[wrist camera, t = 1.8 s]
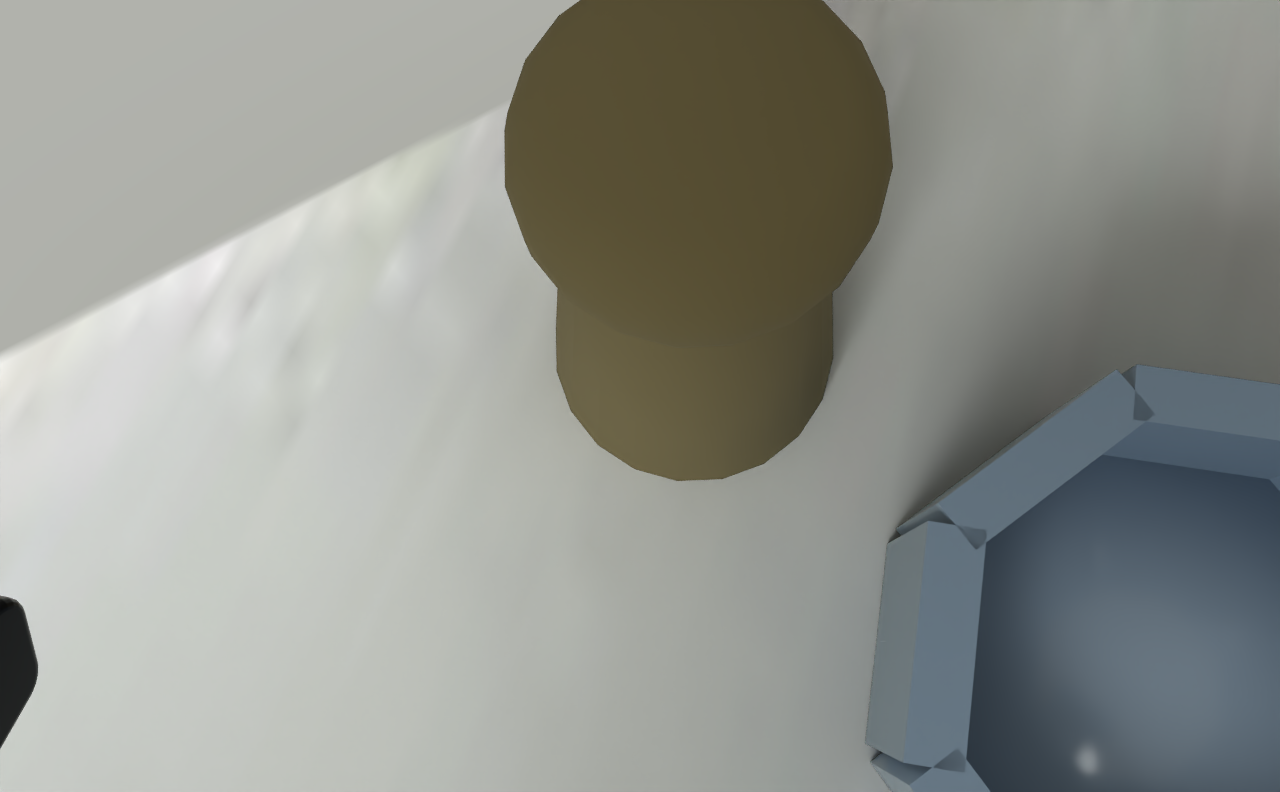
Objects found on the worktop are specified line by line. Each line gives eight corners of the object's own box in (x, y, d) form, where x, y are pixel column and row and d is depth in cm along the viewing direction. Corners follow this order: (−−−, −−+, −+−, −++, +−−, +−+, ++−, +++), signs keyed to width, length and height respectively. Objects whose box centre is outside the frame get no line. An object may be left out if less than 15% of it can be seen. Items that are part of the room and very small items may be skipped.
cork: (743, 167, 25) (784, -200, 14) (886, 394, 24) (1051, 177, 13) (506, 294, 24) (364, 13, 14) (639, 534, 23) (597, 428, 12)
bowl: (1539, 749, 21) (1729, 770, 17) (1119, 1101, 20) (1221, 1205, 16) (1164, 327, 24) (1258, 262, 20) (768, 624, 23) (785, 617, 19)
